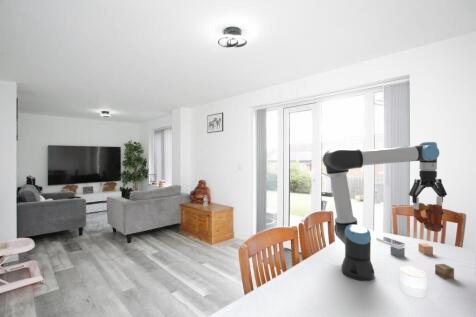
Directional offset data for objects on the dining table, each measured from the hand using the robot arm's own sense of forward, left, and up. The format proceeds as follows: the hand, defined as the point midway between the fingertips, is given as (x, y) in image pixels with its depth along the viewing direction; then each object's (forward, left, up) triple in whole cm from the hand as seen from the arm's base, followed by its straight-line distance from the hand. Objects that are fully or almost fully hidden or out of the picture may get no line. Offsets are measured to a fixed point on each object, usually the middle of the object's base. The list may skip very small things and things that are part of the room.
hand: (427, 208), depth 131 cm
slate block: (-8, +12, -31) cm, 34 cm away
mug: (0, 0, -12) cm, 12 cm away
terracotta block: (+11, +13, -31) cm, 35 cm away
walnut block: (-3, -13, -31) cm, 34 cm away
